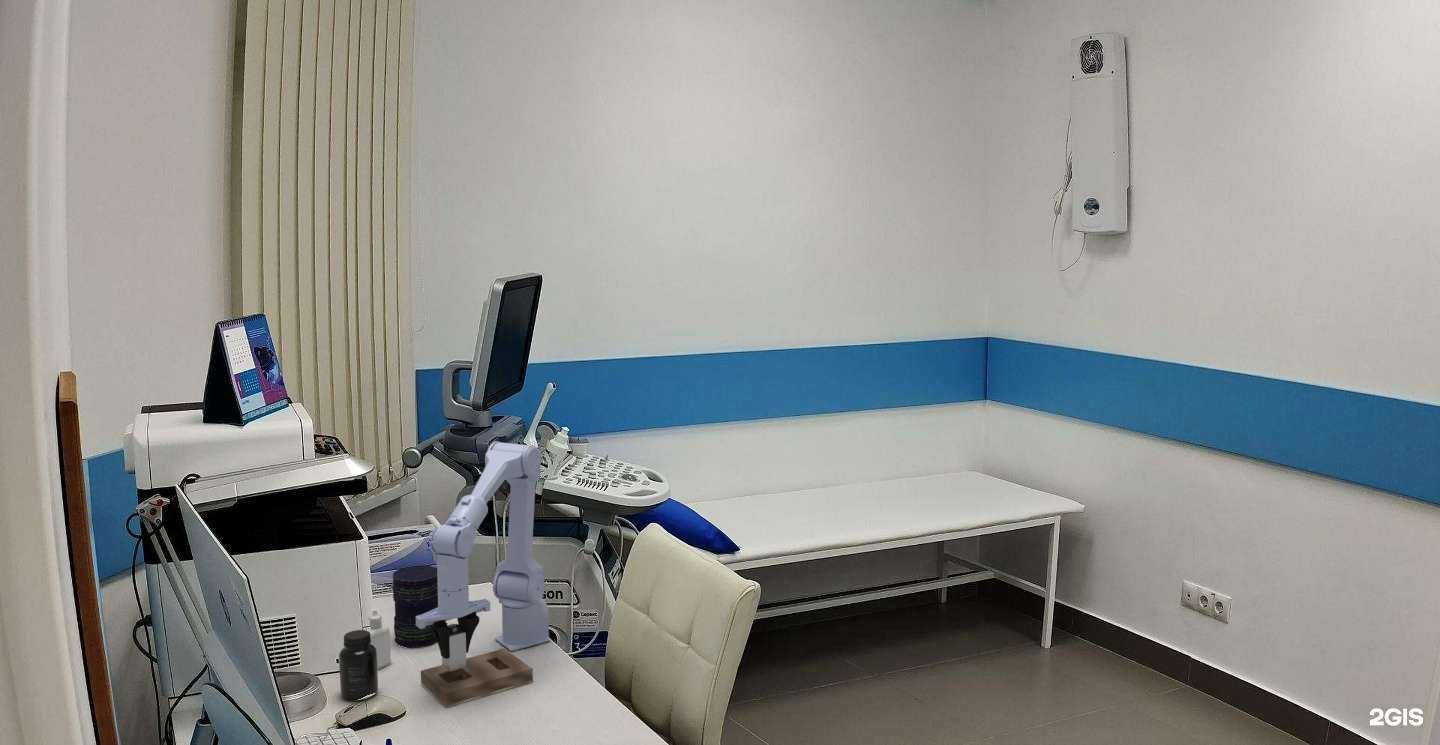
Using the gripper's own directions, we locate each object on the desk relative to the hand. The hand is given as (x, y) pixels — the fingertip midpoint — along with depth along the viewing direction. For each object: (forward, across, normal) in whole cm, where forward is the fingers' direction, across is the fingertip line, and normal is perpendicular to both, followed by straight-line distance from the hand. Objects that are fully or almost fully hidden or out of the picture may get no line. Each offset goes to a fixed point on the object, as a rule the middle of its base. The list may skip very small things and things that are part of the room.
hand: (454, 654), depth 199 cm
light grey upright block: (+2, 0, 0) cm, 3 cm away
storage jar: (+7, -5, -27) cm, 28 cm away
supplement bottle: (+7, +15, -10) cm, 19 cm away
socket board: (+7, -4, 0) cm, 8 cm away
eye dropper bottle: (+7, +8, -19) cm, 22 cm away
